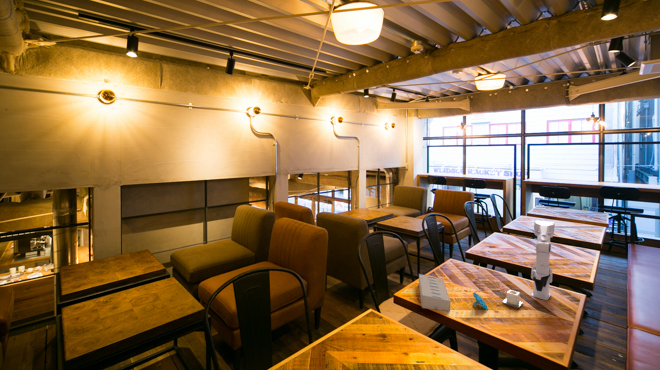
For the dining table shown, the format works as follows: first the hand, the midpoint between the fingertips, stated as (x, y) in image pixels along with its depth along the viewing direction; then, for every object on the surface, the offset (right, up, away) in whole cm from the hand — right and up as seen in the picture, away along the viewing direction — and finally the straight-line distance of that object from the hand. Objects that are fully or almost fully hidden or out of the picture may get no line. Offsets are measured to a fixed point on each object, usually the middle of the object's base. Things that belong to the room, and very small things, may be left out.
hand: (541, 288), depth 160 cm
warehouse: (-54, -10, +14) cm, 56 cm away
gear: (-32, -11, +1) cm, 34 cm away
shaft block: (-13, -10, +4) cm, 17 cm away
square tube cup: (-13, -9, +4) cm, 16 cm away
